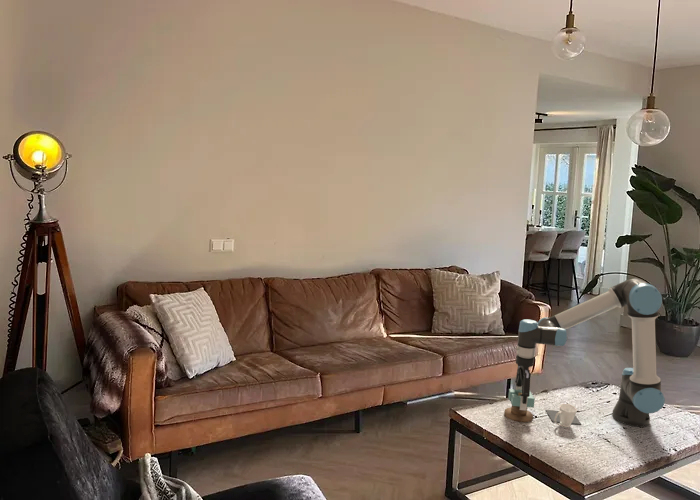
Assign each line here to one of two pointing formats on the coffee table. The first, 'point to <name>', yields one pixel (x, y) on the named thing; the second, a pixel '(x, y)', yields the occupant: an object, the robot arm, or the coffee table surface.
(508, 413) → the stand
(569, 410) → the cup
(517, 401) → the link
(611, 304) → the robot arm
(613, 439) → the coffee table surface
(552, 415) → the mat
